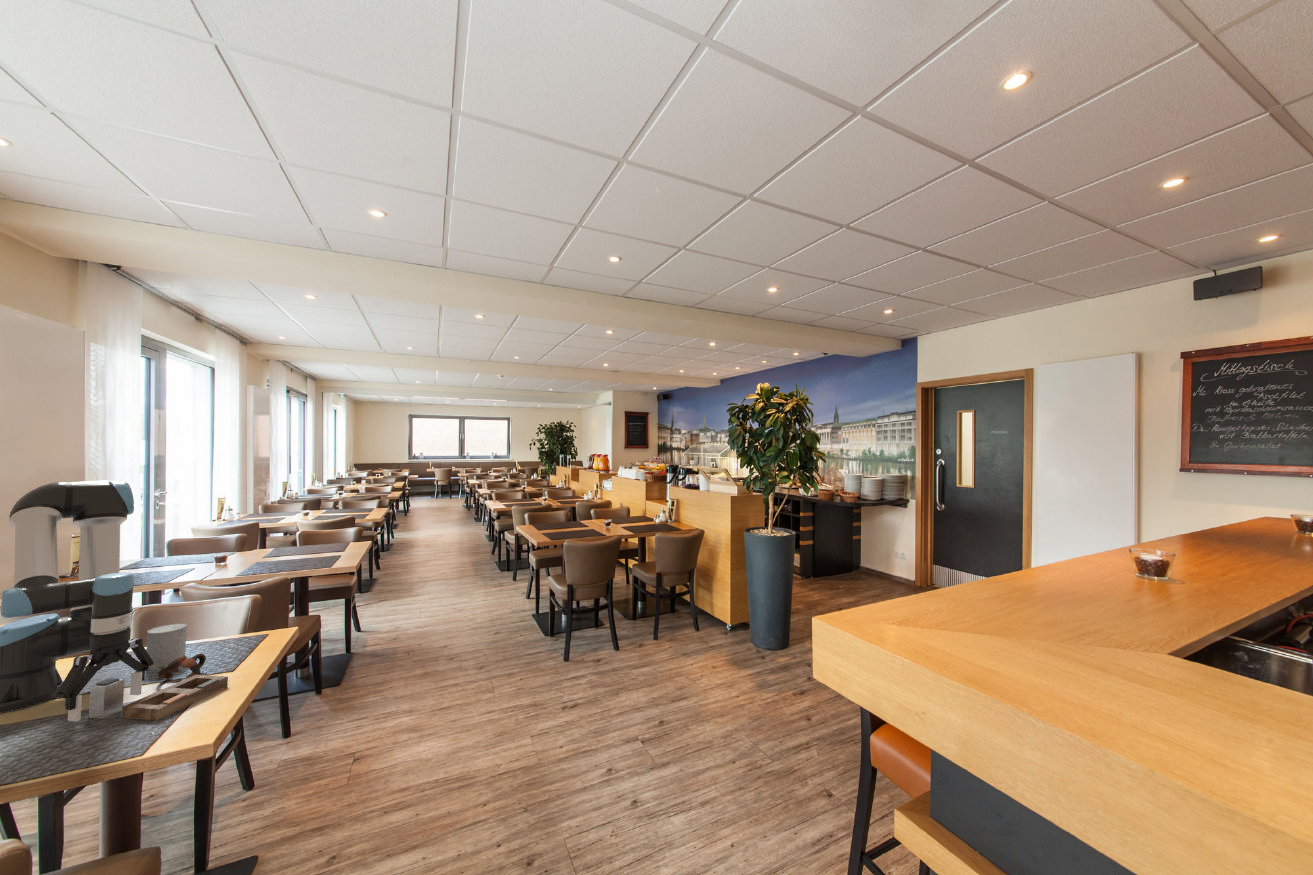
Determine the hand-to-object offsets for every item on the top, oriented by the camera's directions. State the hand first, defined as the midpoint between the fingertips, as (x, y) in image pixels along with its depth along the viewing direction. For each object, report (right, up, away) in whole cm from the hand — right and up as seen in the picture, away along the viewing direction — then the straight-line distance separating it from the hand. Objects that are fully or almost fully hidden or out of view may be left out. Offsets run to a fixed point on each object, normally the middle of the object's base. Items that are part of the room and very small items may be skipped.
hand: (106, 706), depth 130 cm
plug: (0, -2, 0) cm, 2 cm away
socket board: (+13, -2, +7) cm, 15 cm away
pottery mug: (+1, -3, +21) cm, 21 cm away
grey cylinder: (-15, -3, +30) cm, 34 cm away
